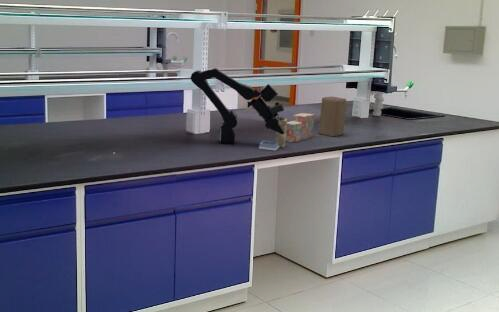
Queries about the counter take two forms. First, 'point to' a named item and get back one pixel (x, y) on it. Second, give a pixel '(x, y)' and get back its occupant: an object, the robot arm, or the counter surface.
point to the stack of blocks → (300, 127)
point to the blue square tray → (269, 145)
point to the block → (332, 116)
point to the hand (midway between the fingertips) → (283, 132)
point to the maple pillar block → (283, 125)
